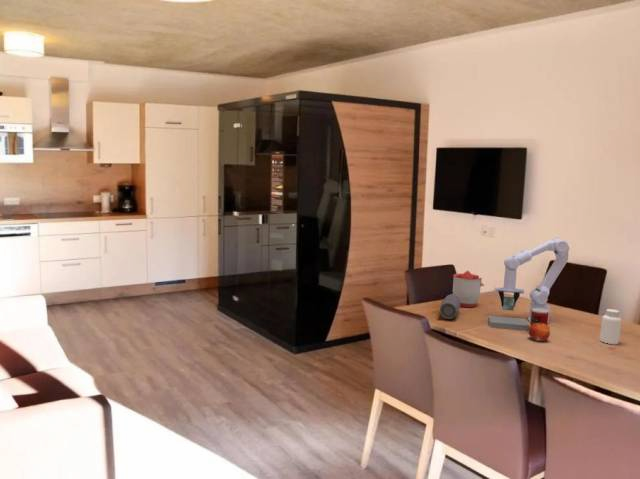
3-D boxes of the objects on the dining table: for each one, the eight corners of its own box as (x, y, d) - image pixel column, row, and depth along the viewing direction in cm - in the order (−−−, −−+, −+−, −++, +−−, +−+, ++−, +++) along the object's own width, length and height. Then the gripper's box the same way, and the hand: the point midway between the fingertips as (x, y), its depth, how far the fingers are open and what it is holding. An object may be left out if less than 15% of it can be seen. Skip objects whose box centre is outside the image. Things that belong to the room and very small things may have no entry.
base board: (524, 323, 285) (525, 318, 285) (528, 330, 272) (529, 325, 272) (487, 320, 288) (488, 315, 288) (490, 327, 276) (490, 322, 275)
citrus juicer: (485, 309, 312) (488, 273, 310) (454, 308, 312) (457, 272, 310) (478, 302, 328) (481, 268, 325) (448, 301, 328) (450, 267, 325)
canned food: (546, 331, 273) (548, 309, 271) (547, 335, 265) (549, 312, 264) (529, 329, 275) (531, 307, 274) (529, 333, 268) (531, 310, 266)
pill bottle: (618, 346, 253) (621, 313, 251) (598, 342, 257) (602, 310, 255) (619, 341, 260) (623, 310, 258) (600, 338, 264) (603, 307, 262)
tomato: (551, 343, 252) (552, 326, 251) (529, 341, 254) (531, 324, 253) (547, 337, 261) (548, 321, 260) (526, 336, 263) (527, 319, 262)
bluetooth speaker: (457, 322, 282) (458, 302, 281) (438, 320, 285) (439, 300, 284) (460, 312, 304) (462, 294, 303) (443, 310, 307) (444, 292, 306)
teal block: (512, 308, 294) (513, 297, 293) (513, 310, 289) (514, 299, 288) (502, 307, 295) (503, 296, 294) (503, 309, 290) (504, 298, 289)
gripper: (496, 280, 288) (494, 306, 289) (525, 283, 285) (523, 309, 287) (494, 278, 295) (492, 303, 296) (523, 280, 292) (521, 306, 293)
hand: (507, 306), depth 292 cm, fingers closed on teal block, 5 cm apart
